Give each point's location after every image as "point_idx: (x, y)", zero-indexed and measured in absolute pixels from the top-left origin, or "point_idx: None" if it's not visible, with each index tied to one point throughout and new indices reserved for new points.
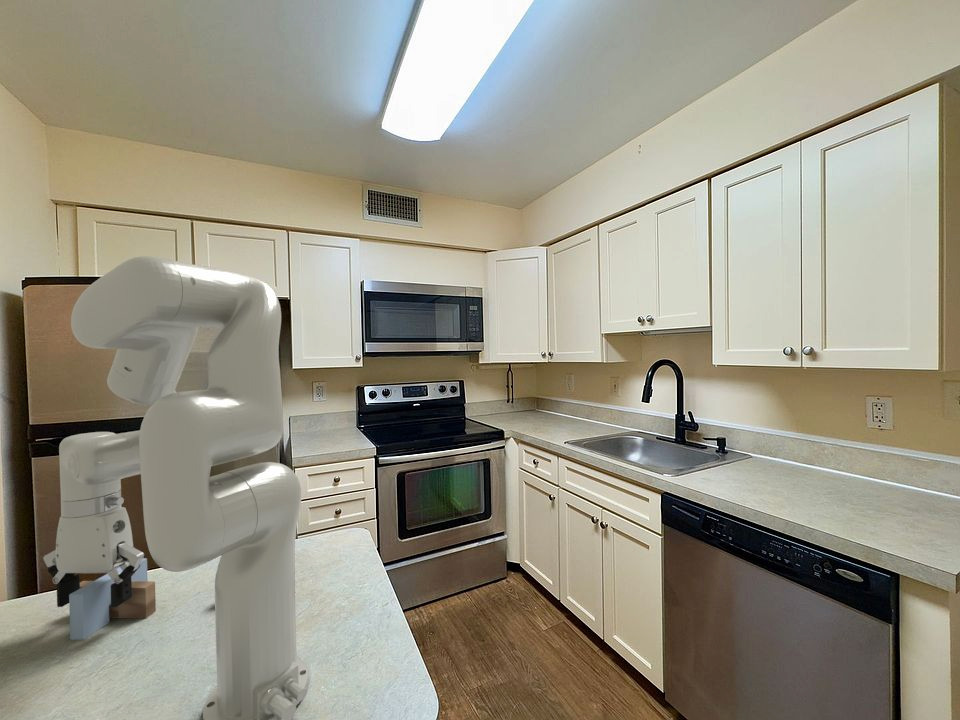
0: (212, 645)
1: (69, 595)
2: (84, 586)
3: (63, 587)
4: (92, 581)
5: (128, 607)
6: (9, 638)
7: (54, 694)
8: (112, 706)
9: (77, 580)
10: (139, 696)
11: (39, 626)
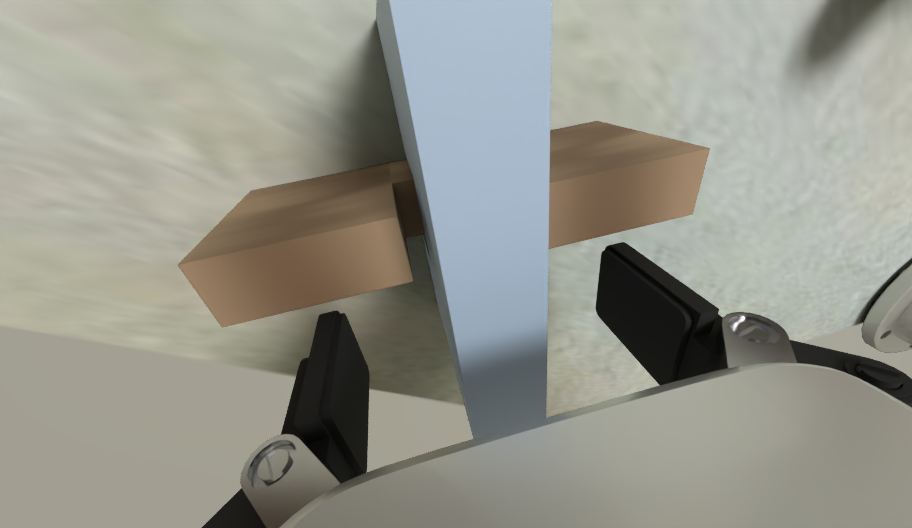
0: (846, 213)
1: None
2: (471, 403)
3: (365, 450)
4: (268, 252)
5: None
6: (218, 361)
7: (595, 386)
8: None
9: (336, 397)
10: None
11: None
